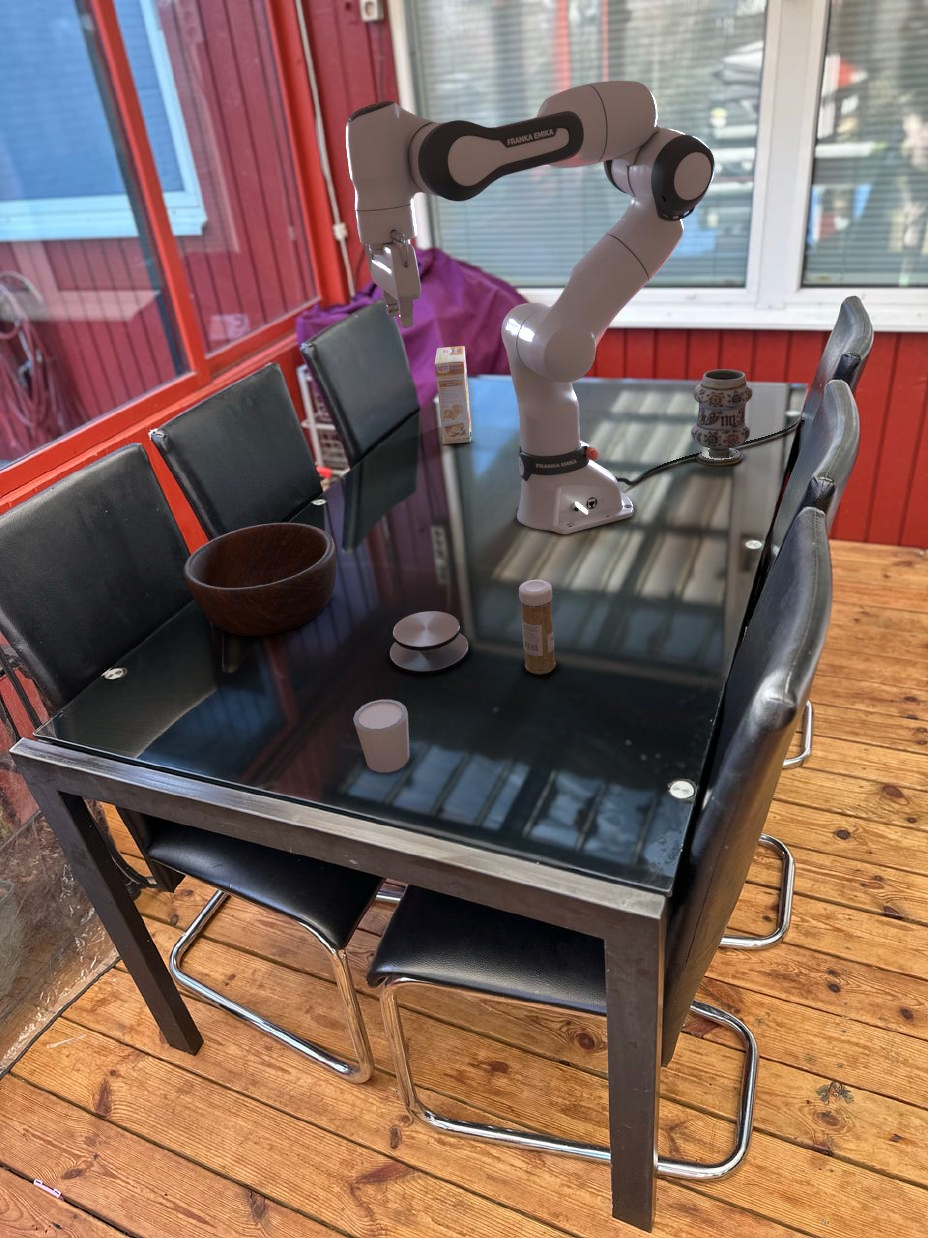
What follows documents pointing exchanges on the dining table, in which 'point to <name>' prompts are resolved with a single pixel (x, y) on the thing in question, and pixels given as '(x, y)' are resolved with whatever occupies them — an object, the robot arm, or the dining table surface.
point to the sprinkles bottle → (537, 626)
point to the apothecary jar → (721, 415)
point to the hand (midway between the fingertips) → (400, 320)
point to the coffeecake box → (453, 394)
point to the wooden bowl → (263, 578)
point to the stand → (428, 643)
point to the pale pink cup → (383, 734)
